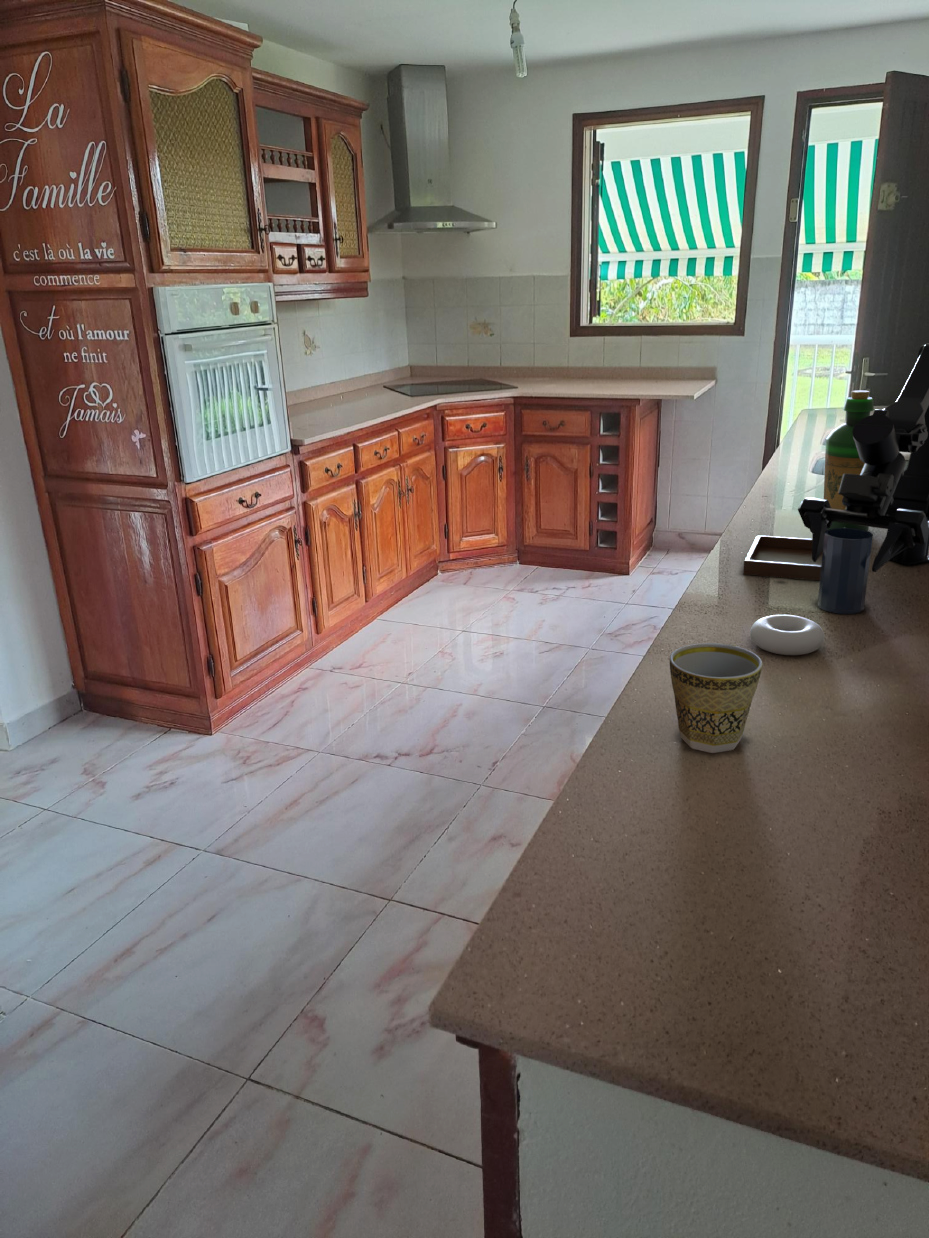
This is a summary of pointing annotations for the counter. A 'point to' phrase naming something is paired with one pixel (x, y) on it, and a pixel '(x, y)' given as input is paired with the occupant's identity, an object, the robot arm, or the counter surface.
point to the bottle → (845, 452)
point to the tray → (782, 558)
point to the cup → (844, 570)
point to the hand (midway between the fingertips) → (842, 565)
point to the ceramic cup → (713, 693)
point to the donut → (787, 634)
